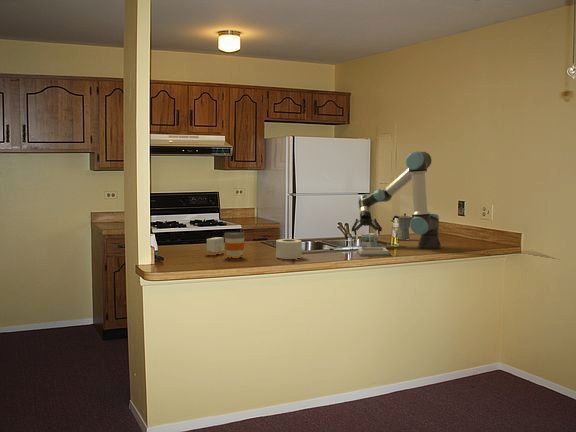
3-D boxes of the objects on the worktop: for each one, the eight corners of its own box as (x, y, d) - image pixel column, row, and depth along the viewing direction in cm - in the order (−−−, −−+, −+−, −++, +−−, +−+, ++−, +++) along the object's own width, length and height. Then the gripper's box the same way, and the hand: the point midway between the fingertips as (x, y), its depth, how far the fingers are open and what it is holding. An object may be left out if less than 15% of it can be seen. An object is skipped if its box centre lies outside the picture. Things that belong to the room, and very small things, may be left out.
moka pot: (413, 240, 463) (413, 213, 461) (392, 240, 466) (392, 213, 464) (413, 239, 472) (413, 212, 470) (392, 239, 475) (392, 212, 473)
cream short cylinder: (306, 258, 379) (306, 240, 378) (287, 260, 368) (287, 242, 368) (289, 255, 390) (289, 238, 389) (270, 257, 380) (270, 240, 379)
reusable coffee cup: (221, 256, 385) (221, 232, 384) (241, 255, 390) (240, 231, 389) (228, 259, 373) (227, 234, 372) (247, 258, 378) (247, 233, 377)
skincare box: (216, 253, 401) (215, 236, 400) (224, 253, 398) (224, 237, 397) (206, 255, 392) (206, 238, 391) (214, 255, 389) (214, 239, 388)
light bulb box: (370, 251, 408) (370, 234, 407) (361, 250, 411) (361, 234, 410) (377, 249, 417) (377, 233, 416) (367, 248, 420) (368, 232, 419)
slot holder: (385, 251, 405) (385, 247, 404) (390, 256, 386) (390, 251, 385) (356, 251, 405) (356, 247, 404) (359, 256, 386) (359, 251, 385)
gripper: (382, 217, 432) (385, 242, 418) (346, 217, 432) (348, 242, 418) (384, 210, 426) (387, 235, 412) (347, 210, 426) (349, 235, 413)
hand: (367, 238), depth 415 cm, fingers open, 13 cm apart
